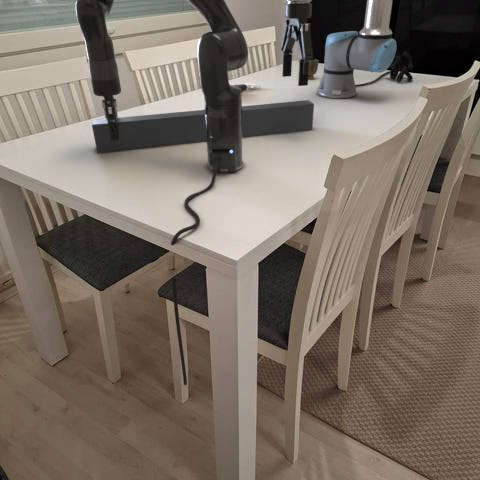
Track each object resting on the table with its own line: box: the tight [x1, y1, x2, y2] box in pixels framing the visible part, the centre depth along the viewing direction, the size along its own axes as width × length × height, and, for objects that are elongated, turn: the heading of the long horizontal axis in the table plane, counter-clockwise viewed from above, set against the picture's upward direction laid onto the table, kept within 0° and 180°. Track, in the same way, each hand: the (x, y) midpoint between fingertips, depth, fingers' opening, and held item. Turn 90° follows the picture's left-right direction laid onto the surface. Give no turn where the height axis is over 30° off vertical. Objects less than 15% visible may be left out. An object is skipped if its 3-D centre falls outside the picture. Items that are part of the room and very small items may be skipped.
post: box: [91, 99, 315, 154], centre depth 137 cm, size 67×5×8 cm, turn 105°
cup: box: [308, 58, 320, 80], centre depth 204 cm, size 8×7×8 cm
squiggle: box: [389, 51, 414, 83], centre depth 198 cm, size 11×10×15 cm
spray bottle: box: [232, 82, 261, 95], centre depth 184 cm, size 3×11×25 cm
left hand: (115, 136), depth 131 cm, fingers closed on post, 4 cm apart
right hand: (294, 80), depth 137 cm, fingers open, 13 cm apart
